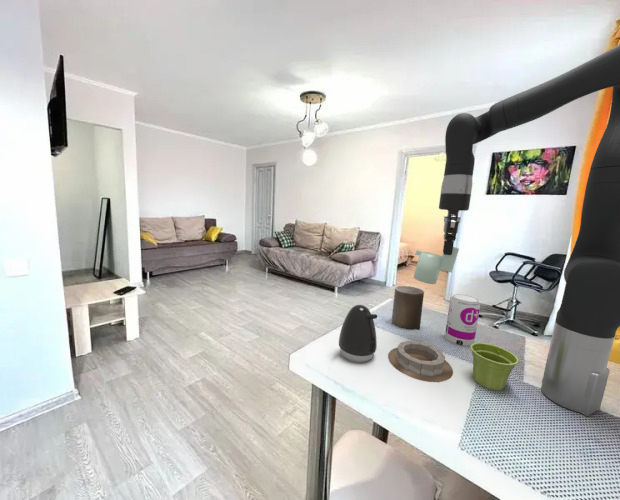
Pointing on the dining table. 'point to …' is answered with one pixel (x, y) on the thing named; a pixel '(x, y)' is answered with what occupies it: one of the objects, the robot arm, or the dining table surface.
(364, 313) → the dark rounded figure
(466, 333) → the supplement can
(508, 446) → the dining table surface
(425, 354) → the stone ring brown dish
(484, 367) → the plant pot
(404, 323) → the pillar candle
